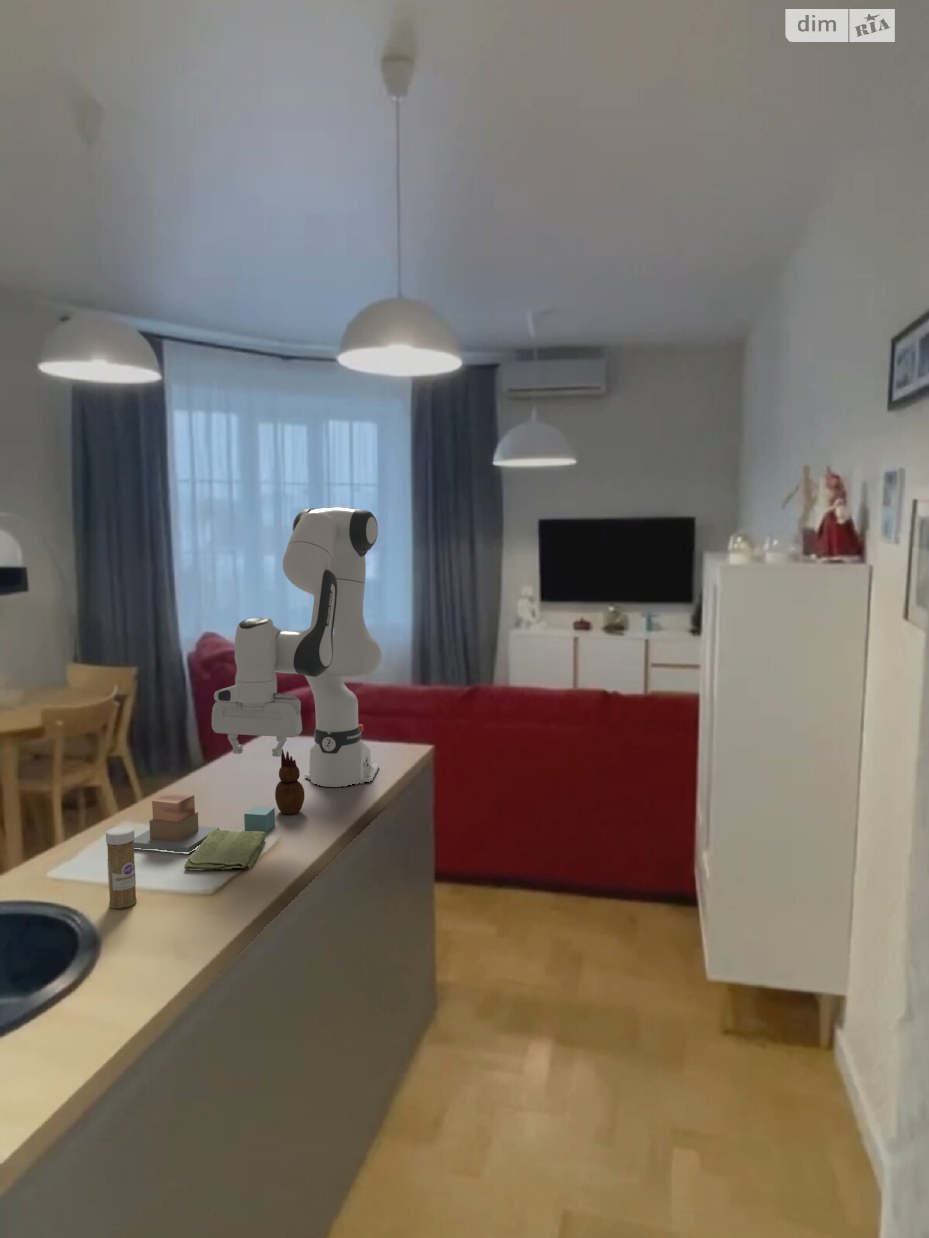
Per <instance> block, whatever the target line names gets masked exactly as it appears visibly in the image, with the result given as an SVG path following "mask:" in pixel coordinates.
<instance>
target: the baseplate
mask: <svg viewBox="0 0 929 1238" xmlns="http://www.w3.org/2000/svg"><path fill="white" fill-rule="evenodd" d="M148 823H149V829H148V830H147V831H145V832H143V833H141V834H139V835H138V836H136V837H135V838H134V842H133V843H134V848H141V849H158V850H167V851H174V852H190V851H192V850H193V849H195V848H196V847H197V846H199V845H201V843H202V842H203V841H204V840H205V839H206V838H207V835H208V834H209V833H210V832H211V830H220V827H216V826H215V827H214V826H205V825H199V812H198V811H195V813H194V814H192V815H190V816H188V817H187V818H185V819H183V820H181V821H179V822H171V821H162V820H153V818H151V819H149V822H148Z"/></svg>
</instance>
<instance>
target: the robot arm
mask: <svg viewBox="0 0 929 1238" xmlns="http://www.w3.org/2000/svg"><path fill="white" fill-rule="evenodd" d="M378 527H379V526H378V522H377V519H376V517H375V515H374V514H373V513H372V511H369V510H367V509H362V508H356V509H355V508H354V509H353V508H348V507H326V508H323V507H322V508H306V509H303V510H301V511H299V513H298V514H297V515H296V516H295V518H294V520H293V524H292V533H291V536H290V538H289V541H288V544H287V546H286V549H285V553H284V555H283V559H282V569H283V573H284V575H285V576H286V579H288V581H289V582H290V583H291V584H292V585H294V586H295V587H297V588H298V589H299V590H302V591H303V592H306V593H308V594H311V595H312V596H313V606H312V613H311V614H312V615H311V622H310V626H309V627H308V629H306V630H303V631H300V630H297V631H296V630H286V629H285V630H284V629H282V628H281V629H280V628H279V627H277V626H275V625H274V622H273V620H272V619H271V618H269V617H263V616H262V617H259V616H257V617H250V618H246V619H243V620H242V621H240V622H239V623H238V624H237V626H236V627H237V628H236V631H235V638H234V662H235V664H236V674H235V678H234V683H235V684H231V685H229V686H228V687H225V688H222V689H219V690H216V691H215V692H213V693H214V694H213V700H215V703H214V704H213V706H212V711H211V728H212V730H213V732H214V733H216V734H227V740H228V741H229V743H230V744H231V746H232V753H233V754H234V755H241V754H242V753H243V751H244V749H243V748H244V747H243V745H244V744H240V743H239V740H238V737H239V735H242V736H243V735H244V736H246V735H247V736H258V737H259V736H261V737H263V736H264V737H276V742H277V745H276V746H275V747H272V751H271V752H272V754H271V756H272V757H276V758H277V757H278V758H279V757H281V755H282V749H283V747H284V745H285V743H286V742H287V740H288V738H291V739H292V738H296V737H297V736H299V735H300V734H301V733H302V731H303V723H302V722H303V721H302V715H301V710H302V708H301V707H302V702H301V700H300V699H299V697H297V696H295V694H292V693H288V694H286V693H278V679H277V677H278V676H277V674H276V673H281V674H294V675H301V676H304V677H305V679H306V681H307V683H308V685H309V687H310V689H311V691H312V692H311V693H312V696H313V700H314V708H315V710H314V711H315V728H314V733H313V737H314V745H313V746H312V747H310V750H309V768H308V772H306V773H305V774H304V778H305V777H307V778H308V779H307V780H309V779H310V780H311V781H310V780H309V781H310V782H311V783H312V784H314V785H315V784H317V785H316V786H319V785H320V786H321V787H327V788H328V787H330V788H341V787H342V786H343V787H349V786H348V785H351V786H353V785H352V784H355V785H359V783H360V784H365V783H364V782H369V783H371V782H370V781H372V780H374V779H373V777H374V775H375V773H376V771H377V770H378V771H379V769H378V767H379V768H380V764H379V763H376V762H372V757H371V756H372V755H371V748H370V747H369V746H367V744H366V743H365V742H364V741H363V740H362V739H363V738H362V732H364V724H363V723H360V724H359V700H358V698H357V695H356V694H355V693H354V692H353V691H352V690H350V689H349V687H347V686H346V684H345V682H344V680H343V678H344V677H346V678H362V677H363V678H364V677H368V676H373V674H375V673H376V672H377V670H378V669H379V667H380V665H381V663H382V650H381V648H380V646H379V643H378V642H377V640H375V639H374V638H373V637H372V636H371V633H370V632H369V631H368V628H367V626H366V621H365V618H364V597H365V588H366V586H365V585H366V570H367V569H366V566H367V565H366V555H367V553H368V551H370V550H371V549H372V547H374V545H375V544H376V542H377V539H378V531H379V530H378ZM378 771H377V772H378ZM376 774H377V773H376ZM375 776H376V775H375ZM374 778H375V777H374ZM372 782H373V781H372ZM320 786H319V787H320Z"/></svg>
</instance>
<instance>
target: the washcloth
mask: <svg viewBox="0 0 929 1238" xmlns="http://www.w3.org/2000/svg"><path fill="white" fill-rule="evenodd" d="M266 836H267V834H266V832H261V831H245V830H242V831H234V830H228V829H219V830H211V832H210V833H209V834H208V835H207V838H206V839H205V840H204V841H203V842H202V843H201V845H200V846H199V847H198V848H197V850H195V851H194V852H192V853H191V854H190V856H189V858H187V861H186V862H185V864H184V866H183V867H184V870H189V869H222V870H224V869H225V870H233V869H232V868H243V869H242V870H251V869H252V868H253V865H254V864H255V863H256V860H257V858H258V857H259V855H260V853H259V851H260V850H261V851H262V849H263V847H262V845H263V844H264V845H265V842H264V840H265V841H266ZM264 845H263V846H264ZM261 848H262V849H261ZM261 851H260V852H261ZM258 854H259V855H258ZM257 856H258V857H257Z"/></svg>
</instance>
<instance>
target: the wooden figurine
mask: <svg viewBox="0 0 929 1238" xmlns="http://www.w3.org/2000/svg"><path fill="white" fill-rule="evenodd" d="M280 757H281V758H280V762H281V764H280V765H281V766H280V768H279V771H278V777H279V780H280V781H279V782H278V783H277V784H276V786H275V791H274V796H275V797H274V798H275V803H276V806H277V808H278V810H279V811H280V812H281V813H282V814H284V815H295V814H298V813H299V812H301V810H302V807H303V804H304V802H305V789H304V785H303V784H302V783H301V782H300V781H299V778H300V773H301V772H300V769H299V766H297V762H296V759H293V756H292V755H291V756H290V754H289V751H286V755H285V752H284V750H283V748H282V755H281V756H280Z"/></svg>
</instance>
